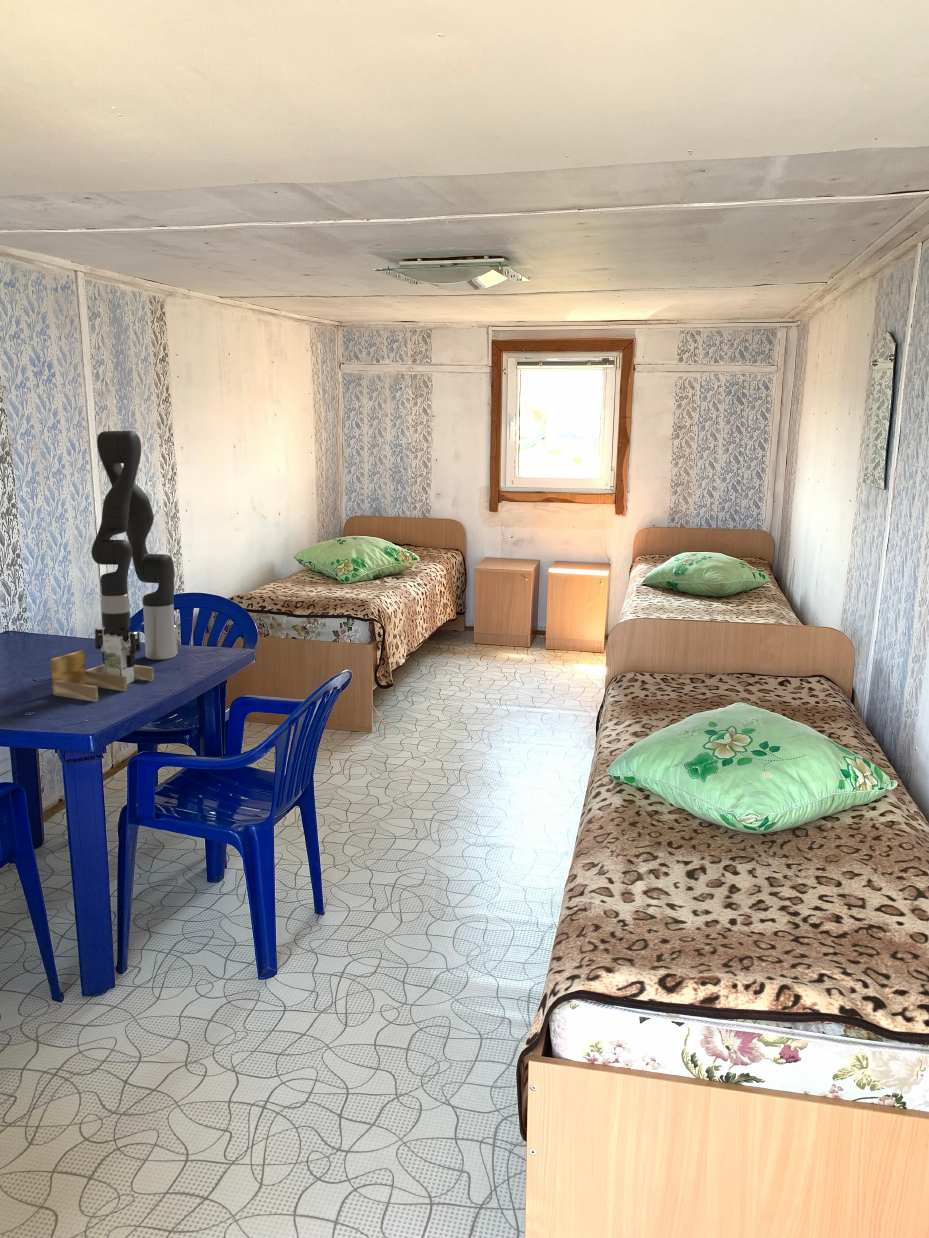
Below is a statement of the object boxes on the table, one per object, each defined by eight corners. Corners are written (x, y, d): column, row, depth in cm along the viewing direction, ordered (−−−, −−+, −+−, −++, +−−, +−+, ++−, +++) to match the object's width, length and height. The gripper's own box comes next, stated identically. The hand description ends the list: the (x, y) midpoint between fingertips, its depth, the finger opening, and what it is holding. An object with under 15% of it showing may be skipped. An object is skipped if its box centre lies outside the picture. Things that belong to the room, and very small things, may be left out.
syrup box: (135, 681, 257) (132, 632, 254) (122, 686, 252) (119, 636, 249) (118, 679, 259) (115, 631, 256) (105, 684, 253) (101, 635, 250)
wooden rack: (112, 674, 264) (110, 642, 262) (154, 680, 258) (152, 647, 256) (51, 694, 243) (49, 659, 241) (95, 701, 237) (93, 665, 235)
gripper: (145, 609, 252) (148, 665, 255) (105, 605, 257) (108, 660, 260) (126, 614, 245) (129, 671, 248) (85, 609, 250) (89, 665, 253)
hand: (118, 665), depth 254 cm, fingers open, 8 cm apart
